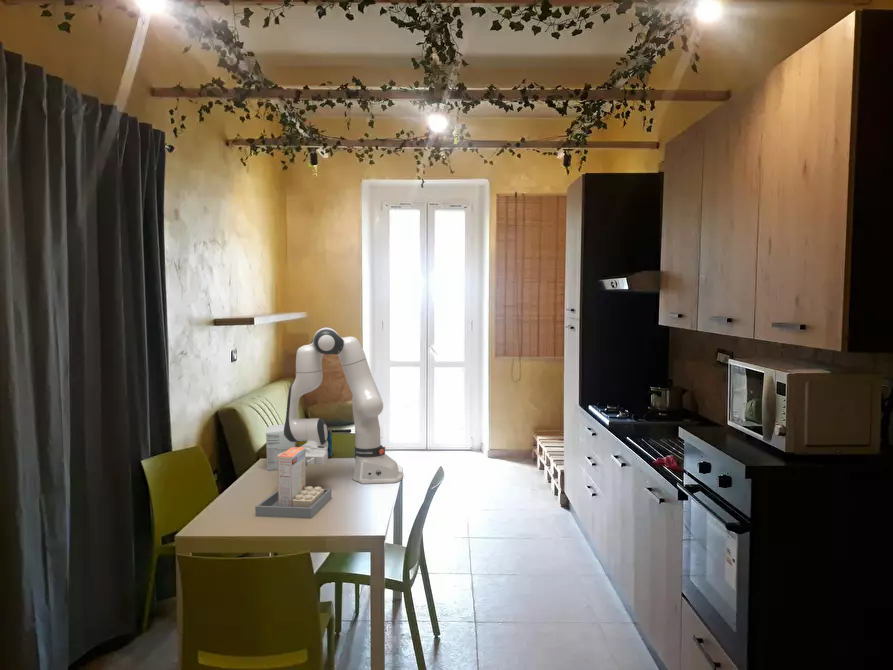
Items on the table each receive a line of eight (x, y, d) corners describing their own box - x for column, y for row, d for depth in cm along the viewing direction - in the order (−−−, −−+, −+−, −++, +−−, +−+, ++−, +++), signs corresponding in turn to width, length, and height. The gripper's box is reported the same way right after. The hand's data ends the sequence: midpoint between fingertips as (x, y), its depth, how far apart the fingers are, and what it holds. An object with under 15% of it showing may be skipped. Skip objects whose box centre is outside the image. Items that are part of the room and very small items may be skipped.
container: (303, 457, 299) (302, 426, 298) (321, 452, 308) (320, 422, 307) (319, 461, 292) (318, 428, 291) (337, 456, 301) (336, 424, 300)
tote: (331, 500, 234) (331, 489, 233) (311, 521, 212) (310, 508, 212) (280, 498, 237) (280, 487, 236) (255, 518, 215) (255, 506, 215)
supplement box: (295, 468, 279) (294, 430, 278) (266, 470, 276) (265, 432, 275) (297, 459, 296) (296, 423, 295) (269, 461, 293) (268, 424, 292)
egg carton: (324, 501, 230) (323, 485, 230) (311, 514, 216) (310, 497, 216) (307, 500, 231) (306, 485, 231) (292, 513, 217) (292, 497, 217)
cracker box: (290, 498, 232) (291, 446, 231) (305, 499, 232) (306, 447, 230) (276, 511, 219) (277, 455, 217) (292, 512, 218) (293, 456, 217)
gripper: (284, 446, 252) (270, 454, 238) (330, 447, 249) (319, 455, 235) (284, 461, 252) (270, 470, 238) (331, 462, 249) (319, 471, 236)
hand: (295, 463), depth 237 cm, fingers open, 8 cm apart
